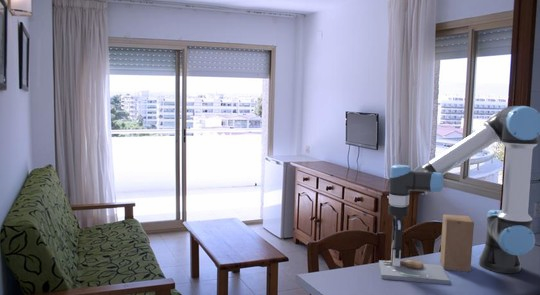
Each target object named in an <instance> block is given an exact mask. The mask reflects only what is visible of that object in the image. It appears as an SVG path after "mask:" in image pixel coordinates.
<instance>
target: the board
mask: <svg viewBox="0 0 540 295" xmlns="http://www.w3.org/2000/svg"><path fill="white" fill-rule="evenodd" d="M383 261H384V260H383V259H381V260H378V265H379V272H380V278H381V279H383V280H396V281H405V282H420V283H429V284H440V285H441V284H443V285H450V283H451V282H450V278H449V276H448V275H447V273H446V271H445V269H444V268H443V266H442V264H433V263H432V264H430V263H423V268H421V269H413V268H409V267H406V266H405V265H400V266H393V264H390V263H383Z"/></svg>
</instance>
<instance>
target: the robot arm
mask: <svg viewBox="0 0 540 295" xmlns="http://www.w3.org/2000/svg"><path fill="white" fill-rule="evenodd" d="M539 136H540V112H539V111H538V110H537V109H535V108H534V107H530V106H527V105H511V106H507V107H504V108H503V109H502V110H500V111H499V112H497V113H496V114H494V115H493V116H492V117H490V118H489V119H487V120H486V121H484V122H483V126H481V127H480V128H479V129H477V130H476V131H475V130H474V132H472V133H471V134H469V135H468V136H466V137H464V138H463V139H462V140H460V141H458V142H457V143H455V144H454V145H452V146H451V147H449V148H448V149H445V151H443V152H441V153H440V154H438V155H437V156H435V157H433V158H432V159H430V160H428V161H427V162H426V163H424V164H422V165H419V166H417V167H416V168H415V169H414V170H412V168H411V166H410V165H406V164H393V165H392V166H391V167H390V172H389V173H390V175H389V190H388V191H389V193H388V194H389V195H387V199H388V209H387V210H388V211H387V213H388V215H390V216H392V218H391V226H392V227H391V228H392V229H391V230H392V232H391V244H392V243H393V240H394V248H392V247H391V254H390V260H391V261H392V250H393V266H400V261H401V253H402V250H403V230H404V229H403V227H404V220H403V217H408V215H409V205H410V191H411V192H412V191H413V192H415V191H416V192H424V193H425V192H427V193H441V192H442V191H443V188H444V175H445V174H446V173H448V172H450V171H451V170H453V169H454V168H456V167H459V165H461V164H462V163H464V162H466V161H467V160H469V159H470V158H472V157H473V156H476V155H477V154H478V153H480V152H481V151H483V150H485V149H486V148H488V147H490V146H491V145H493V144H494V143H502V145H504V146H505V155H504V156H505V158H504V173H503V175H504V176H503V189H502V190H503V191H502V201H501V202H502V205H501V209H489V210H488V211H487V216H486V227H485V228H486V229H485V242H484V244H485V245H484V247H483V250H482V251H481V254H480V256H479V260H478V264H479V266H480V267H482V269H483V268H484V269H486V270H489V271H492V272H496V273H501V274H503V273H504V274H517V273H519V272H521V269H522V263H521V260H520V256H523V255H526V254H528V253H529V252H531V250H533V248H534V246H535V244H536V237H535V233H534V232H533V231H532V229H533V228H532V227H533V226H532V224H533V217H531V215H530V214H529V203H530V202H529V201H530V189H531V188H530V187H531V174H532V162H533V161H532V159H533V151H534V148H535V147H537V146H538V144H539Z"/></svg>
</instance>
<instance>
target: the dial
mask: <svg viewBox="0 0 540 295" xmlns="http://www.w3.org/2000/svg"><path fill="white" fill-rule="evenodd" d="M392 248H394V240H393V243H392V242H391V252H392V260H391V259H390V260H382V261H383V263H390V264H393V250H392ZM423 264H424V263H423V262H422V261H419V260H414V259H407V260H405V261H403V260H402V261H401V260H400V265H405V266H406V267H409V268H413V269H421V268H423Z"/></svg>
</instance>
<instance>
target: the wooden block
mask: <svg viewBox="0 0 540 295" xmlns="http://www.w3.org/2000/svg"><path fill="white" fill-rule="evenodd" d="M441 226H442V227H441V241H440V243H441V244H440V254H439V255H440V258H439V261H440V265H442V267H443V269H444V271H445V270H447V271H457V272H471V270H472V269H471V267H472V255H473V254H472V253H473V239H474V226H475V221H473V220H472V219H471V218H470V216H468V215H462V214H461V215H460V214H459V215H458V214H446V213H445V214H442V225H441Z"/></svg>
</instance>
